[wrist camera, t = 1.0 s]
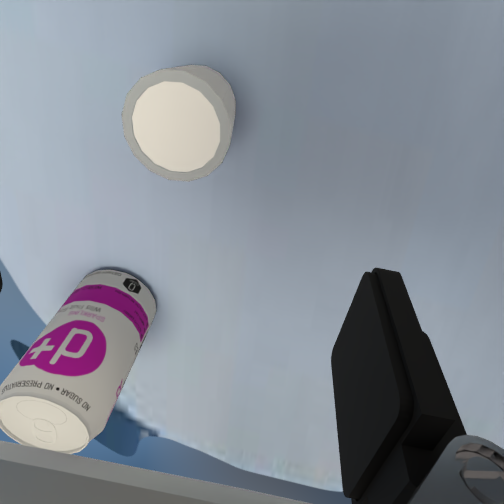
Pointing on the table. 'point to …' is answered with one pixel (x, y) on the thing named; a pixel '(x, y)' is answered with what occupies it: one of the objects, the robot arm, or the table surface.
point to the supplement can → (78, 364)
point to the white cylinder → (180, 121)
